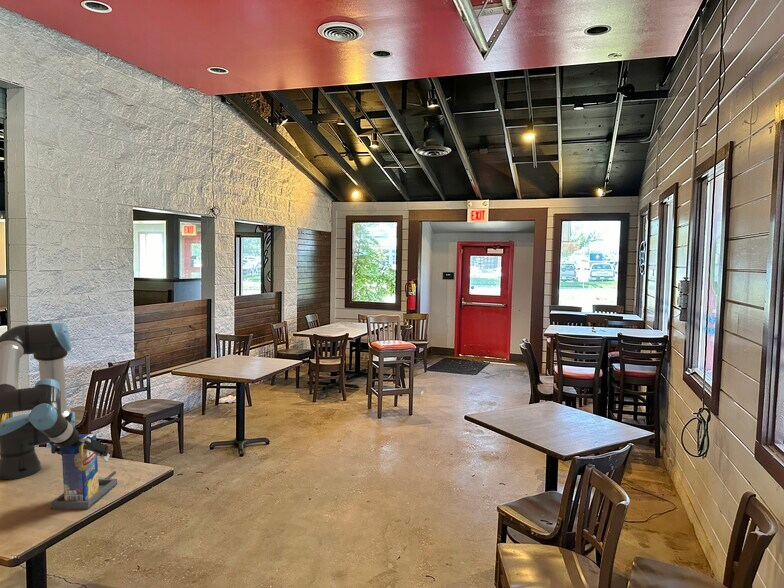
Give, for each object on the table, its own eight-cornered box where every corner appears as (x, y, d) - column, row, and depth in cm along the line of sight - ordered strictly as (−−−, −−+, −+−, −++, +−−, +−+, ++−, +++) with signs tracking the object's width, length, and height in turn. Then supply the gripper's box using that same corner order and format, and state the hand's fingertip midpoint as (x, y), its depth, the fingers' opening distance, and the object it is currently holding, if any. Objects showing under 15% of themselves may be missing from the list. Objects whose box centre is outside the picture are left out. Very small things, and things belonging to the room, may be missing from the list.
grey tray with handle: (98, 473, 216) (98, 467, 216) (131, 473, 216) (130, 467, 216) (51, 509, 186) (50, 502, 186) (88, 509, 186) (88, 502, 185)
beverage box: (99, 489, 199) (96, 433, 197) (84, 503, 188) (81, 444, 186) (80, 490, 198) (77, 434, 197) (64, 504, 188) (61, 445, 186)
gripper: (21, 443, 180) (53, 468, 196) (94, 443, 179) (119, 467, 196) (31, 423, 184) (61, 449, 201) (101, 423, 184) (125, 448, 200)
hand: (89, 458), depth 198 cm, fingers open, 13 cm apart
